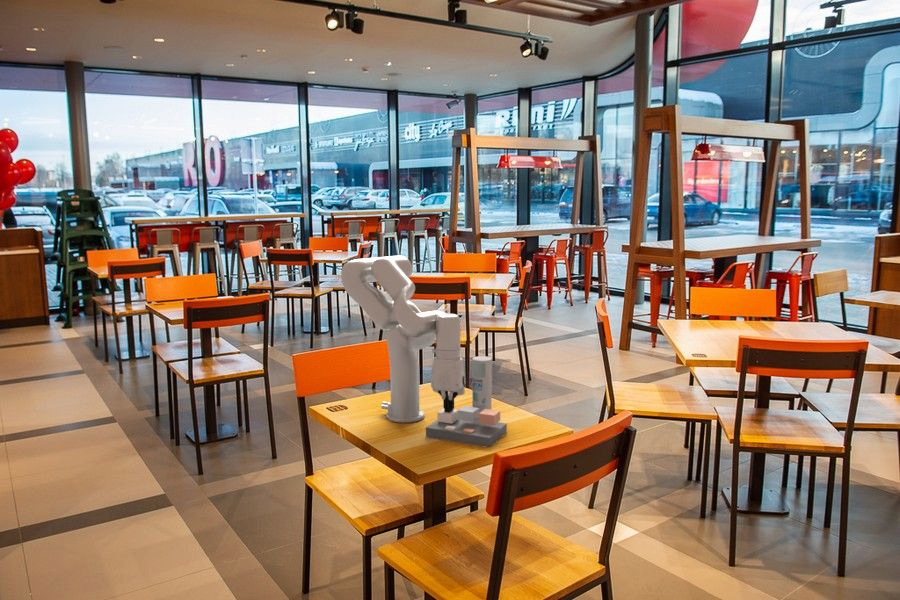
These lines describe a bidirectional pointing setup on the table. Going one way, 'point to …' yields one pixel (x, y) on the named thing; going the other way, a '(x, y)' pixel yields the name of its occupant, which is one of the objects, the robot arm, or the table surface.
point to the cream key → (447, 416)
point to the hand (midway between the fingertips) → (448, 411)
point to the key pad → (467, 432)
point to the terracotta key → (489, 416)
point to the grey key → (468, 413)
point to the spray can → (482, 382)
